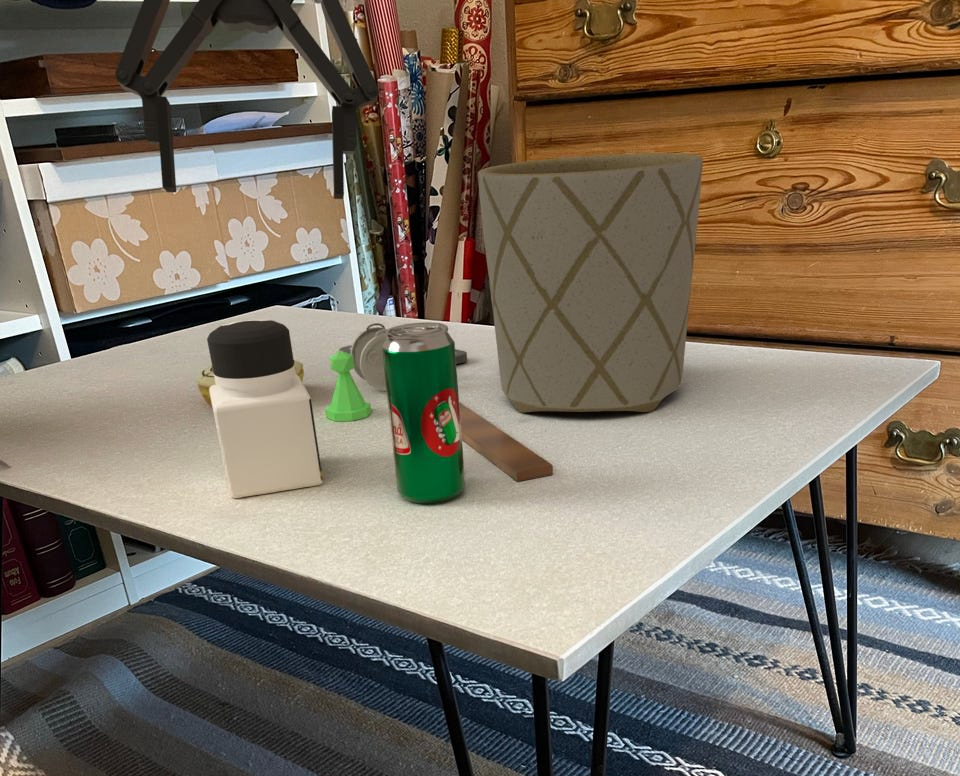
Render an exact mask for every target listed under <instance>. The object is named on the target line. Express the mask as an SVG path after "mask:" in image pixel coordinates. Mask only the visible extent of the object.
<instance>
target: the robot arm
mask: <svg viewBox="0 0 960 776" xmlns="http://www.w3.org/2000/svg"><path fill="white" fill-rule="evenodd" d="M294 1H295V0H198V1H197V2H196V4H194V7H193V8H192V10H191V12H190V14H189V16H188V17H187V19H186V20H185V21H184V23H183V24H182V26H181V27H180V28H179V30H178V31H176V33H175V35H174V36H173V37H172V39H171V40H170V41H169V43H168V44H167V45H166V47H165V48H164V50H163V51H162V52H161V54H160V55H159V56H158V58H157V59H156V60H155V62H154V63H153V64H152V66H151V67H150V69H148V71H147V73H146V74H145V75H144V76H143V75H142V73H143V71H144V69H145V66H146V63H147V61H148V58H149V56H150V53H151V51H152V48H153V46H154V43H155V41H156V39H157V36H158V34H159V31H160V28H161V27H162V23H163V21H164V18H165V16H166V13H167V11H168V8H169V5H170V2H171V0H142V3H141V6H140V8H139V10H138V13H137V16H136V18H135V21H134V24H133V26H132V28H131V31H130V34H129V36H128V39H127V42H126V44H125V46H124V49H123V51H122V54H121V57H120V59H119V62H118V64H117V66H116V69H115V73H114V77H115V79H116V81H117V82H118V84H119V85H120V86H121V88H122V90H124V91H125V92H128V93H132V94H134V95H136V96H139V98H141V103H142V104H141V108H142V119H143V131H144V133H143V134H144V136H145V139H146V141H147V142H148V144H149V145H150V146H159V157H160V173H161V185H162V188H163V189H164V191H165V192H166V193H177V179H176V164H175V151H174V136H173V121H172V107H171V103H170V101H169V99H168V98H167V96H163V95H164V94H165V93H166V91H167V89H168V88H169V87H170V86H171V84H173V82H174V81H175V80H176V78H177V77H178V75H179V74H180V73H181V71H182V70H183V69H184V68H185V66H186V65H187V63H188V62H189V60H190V59H191V58H192V56H194V54H195V52H197V50H198V49H199V47H200V46H201V45H202V43H203V42H204V40H205V39H206V38H207V37H208V36H210V35H211V34H212V33H213V31H214V30H215V29H216V28H217V26H218V25H221V26H222V27H223V28H224V29H225V28H226V29H227V30H228V32H243V31H246V30H250V31H253V32H256V33H257V34H269V32H271V31H273V30H275V29H276V28H278V29H279V31H280V32H281V33H282V35H283V36H284V37H285V39H286V40H287V41H288V42H290V44H292V46H293V47H294V49H295V50H296V51H297V53H298V54H299V55H300V56H301V58H302V60H304V62H305V63H306V65H307V66H308V68H310V70H311V71H312V72H313V74H314V75H315V76H316V78H317V80H319V82H320V83H321V84H322V85H323V87H324V89H326V91H327V92H328V93H329V95H330V96H331V97H332V99H333V100H334V101H335V103H336V104H337V105H332V107H331V138H332V142H331V143H332V144H331V145H332V177H333V178H332V179H333V181H332V182H333V200H344V196H345V179H344V176H345V175H344V155H355V152H356V149H357V146H358V140H357V139H358V137H357V133H358V132H357V130H358V129H357V112H358V111H359V110H360V109H362V108H363V107H367V106H372V105H374V104H375V103H376V102H377V98H378V95H379V86H378V84H377V83H376V82H377V81H376V80H375V78H374V76H373V74H372V71H371V69H370V67H369V65H368V63H367V60H366V58H365V56H364V53H363V51H362V49H361V47H360V45H359V44H360V43H359V42H358V39H357V38H356V36H355V33H354V31H353V29H352V26H351V24H350V22H349V20H348V17H347V15H346V13H345V11H344V9H343V7H342V5H341V2H340V0H311V1H312V2H313V3H314V4H319V5H320V6H321V10H322V13H323V16H324V19H325V21H326V23H327V26H328V28H329V30H330V32H331V34H332V37H333V39H334V41H335V43H336V45H337V47H338V50H339V52H340V54H341V56H342V59H343V61H344V63H345V65H346V67H347V69H348V72H349V75H350V76H351V78H352V81H353V83H354V85H355V88H352V87H351V86H350V85H349V84H348V82H347V81H346V80H345V78H344V77H343V75H342V74H341V73H340V71H339V70H338V69H337V68H336V66H335V65H334V64H333V62H332V61H331V59H329V57H328V55H327V54H326V53H325V51H324V50H323V49H322V47H321V46H320V44H318V42H317V41H316V40H315V38H314V37H313V36H312V34H311V33H310V32H309V30H308V29H307V28H306V26H305V25H304V24H303V22H302V20H301V18H300V17H299V15H298V14H297V12H296V11H295V10H294V8H293V7H292V4H293V3H294Z"/></svg>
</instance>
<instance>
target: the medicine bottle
mask: <svg viewBox="0 0 960 776" xmlns="http://www.w3.org/2000/svg"><path fill="white" fill-rule="evenodd" d="M206 342H207V347H208V352H209V357H210V363H211V366H212V367H213V373H214V378H215V383H216V385H212V386H211V387H210V388H209V392H210V397H211V402H212V405H211V406H212V412H213V417H214V423H215V427H216V432H217V437H218V443H219V447H220V451H221V452H220V453H221V457H222V462H223V468H224V471H225V476H226V481H227V486H228V491H229V495H230V497H231V498H233V499H240V498H246V497H252V496H258V495H264V494H265V495H266V494H271V493H278V492H284V491H291V490H297V489H303V488H308V487H316V486H320V485H323V482H324V478H323V477H324V476H323V471H322V463H321V457H320V451H319V443H318V438H317V429H316V424H315V417H314V409H313V403H312V397H311V395H310V393H309V392H308V390H307V388H306V387H305V385H304V383H303V382H302V381H301V379H300V378H299V376H298V375H296V372H295V365H294V360H295V359H294V353H293V347H292V340H291V334H290V329H289V328H288V327H287V326H286V325H285V324H283V323H281V322H277V321H275V320H272V319H247V320H245V319H244V320H238V321H233V322H229V323H225V324H222V325H220V326H218V327H217V328H215V329H213V330H212V331H211V332H209V335H208V336H207V338H206Z"/></svg>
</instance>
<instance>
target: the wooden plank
mask: <svg viewBox="0 0 960 776" xmlns="http://www.w3.org/2000/svg"><path fill="white" fill-rule="evenodd" d="M459 408H460V421H461V434H462V442H464V443H466V444H467V445H468V446H470V448H472V449H473V450H475V451H476V452H478V453H479V454H480V455H481V456H482V457H484V458H485V459H487V460H488V461H489V462H491V463H492V464H493V465H495V466H496V467H497V468H499V469H500V470H501V471H502V472H504V473H505V474H507V475H508V476H509V477H510V478H512V479H513V480H515V481H516V482H522V481H528V480H532V479H536V478H542V477H546V476H547V477H548V476H553V475H554V465H553V463H551V462H550V461H548V460H547V459H545V458H544V457H542V456H540V455H539V454H538V453H535V452H534V451H533V450H531V449H530V448H528V446H525V445H524V444H523V443H521V442H519V441H518V440H516V438H514V437H512V436H510V435H509V434H507V433H506V432H505V431H503V430H501V429H500V428H499V427H497V426H496V425H494V424H492V423H491V422H489V421H488V420H487V419H485V418H484V417H482V416H481V415H480V414H478V413H477V412H475V411H473V410H472V409H470V408H469V407H467V406H466V405H464V404H462V403H461V402H460V401H459Z"/></svg>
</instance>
